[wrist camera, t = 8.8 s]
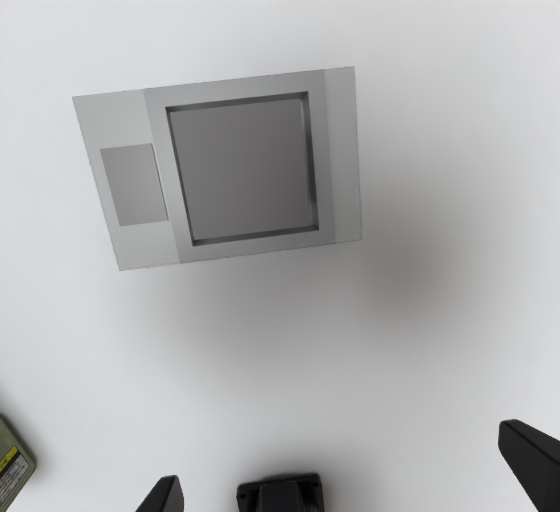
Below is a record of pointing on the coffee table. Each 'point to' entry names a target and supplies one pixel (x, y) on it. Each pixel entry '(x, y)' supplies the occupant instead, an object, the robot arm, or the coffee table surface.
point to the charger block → (243, 168)
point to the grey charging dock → (168, 179)
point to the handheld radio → (12, 466)
